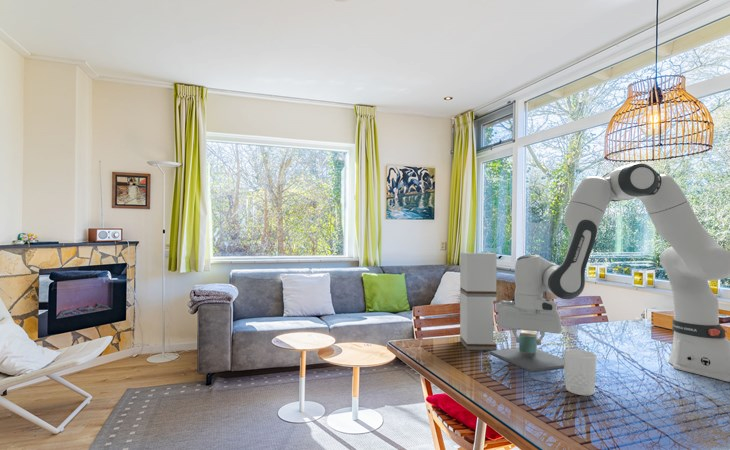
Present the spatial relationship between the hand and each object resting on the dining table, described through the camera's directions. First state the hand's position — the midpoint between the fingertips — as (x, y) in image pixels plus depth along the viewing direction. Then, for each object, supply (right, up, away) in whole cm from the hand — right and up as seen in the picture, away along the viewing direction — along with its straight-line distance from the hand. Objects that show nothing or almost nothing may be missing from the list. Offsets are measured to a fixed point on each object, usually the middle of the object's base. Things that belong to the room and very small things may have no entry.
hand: (528, 343), depth 134 cm
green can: (+3, +1, +7) cm, 7 cm away
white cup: (+2, -5, -28) cm, 28 cm away
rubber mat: (0, -5, -1) cm, 5 cm away
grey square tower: (-13, -6, +16) cm, 21 cm away
